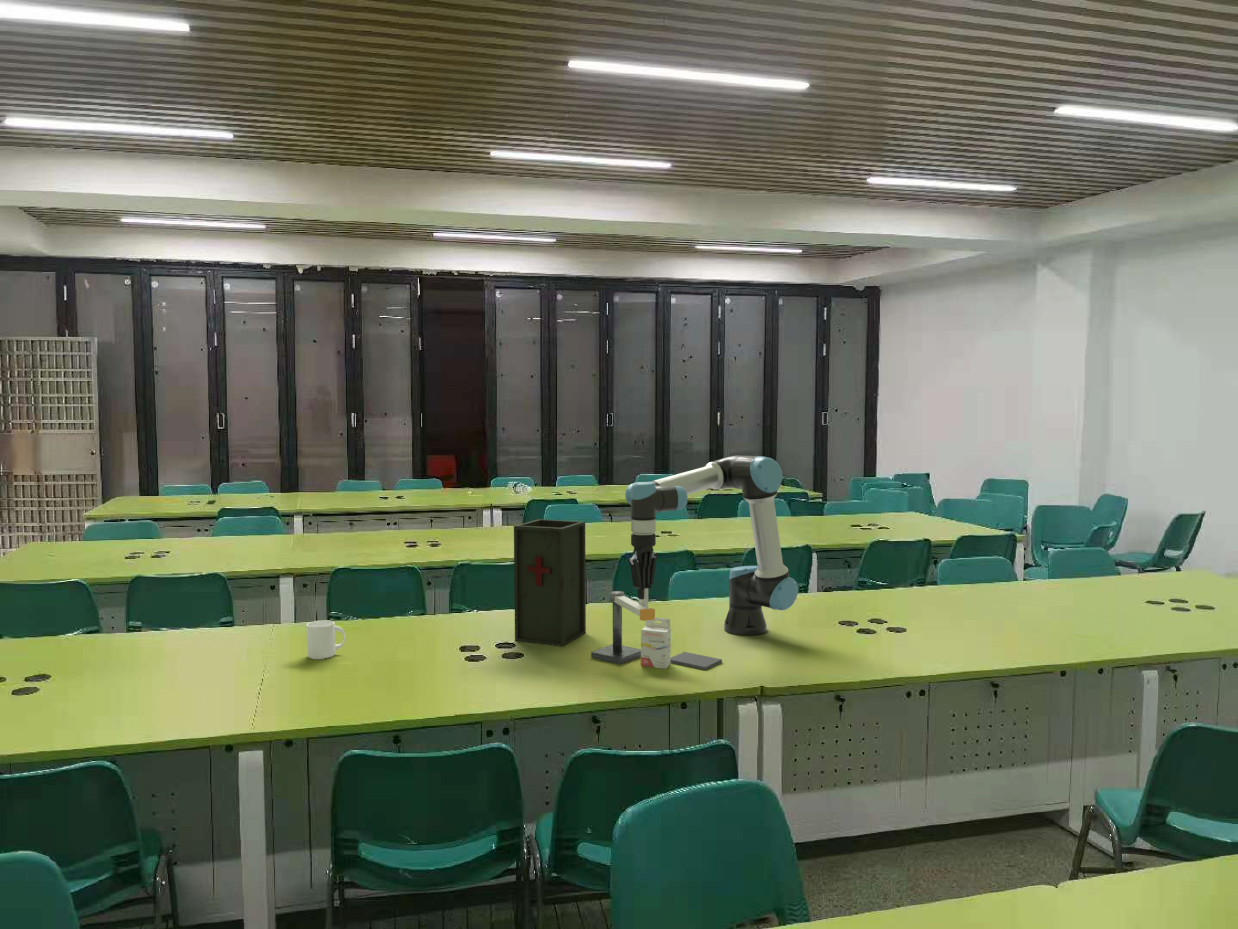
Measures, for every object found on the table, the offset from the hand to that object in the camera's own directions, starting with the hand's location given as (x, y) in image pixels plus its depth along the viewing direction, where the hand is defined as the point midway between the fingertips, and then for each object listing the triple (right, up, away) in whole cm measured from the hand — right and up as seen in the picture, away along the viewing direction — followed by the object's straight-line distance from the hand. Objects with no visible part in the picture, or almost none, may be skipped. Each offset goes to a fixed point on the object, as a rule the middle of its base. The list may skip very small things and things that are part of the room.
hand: (643, 609), depth 264 cm
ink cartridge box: (+4, -19, +4) cm, 20 cm away
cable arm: (-4, -1, +2) cm, 4 cm away
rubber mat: (+16, -18, +8) cm, 26 cm away
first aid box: (-31, -16, +37) cm, 51 cm away
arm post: (-8, -18, +13) cm, 24 cm away
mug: (-103, -18, +16) cm, 105 cm away
